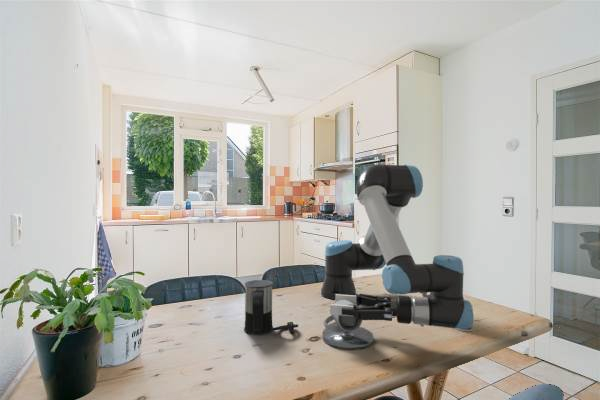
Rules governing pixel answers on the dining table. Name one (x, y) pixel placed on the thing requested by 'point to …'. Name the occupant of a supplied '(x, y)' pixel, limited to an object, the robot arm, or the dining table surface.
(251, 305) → the milk frother
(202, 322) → the dining table surface
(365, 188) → the robot arm
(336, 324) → the ceramic mug
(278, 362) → the dining table surface
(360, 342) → the plate
